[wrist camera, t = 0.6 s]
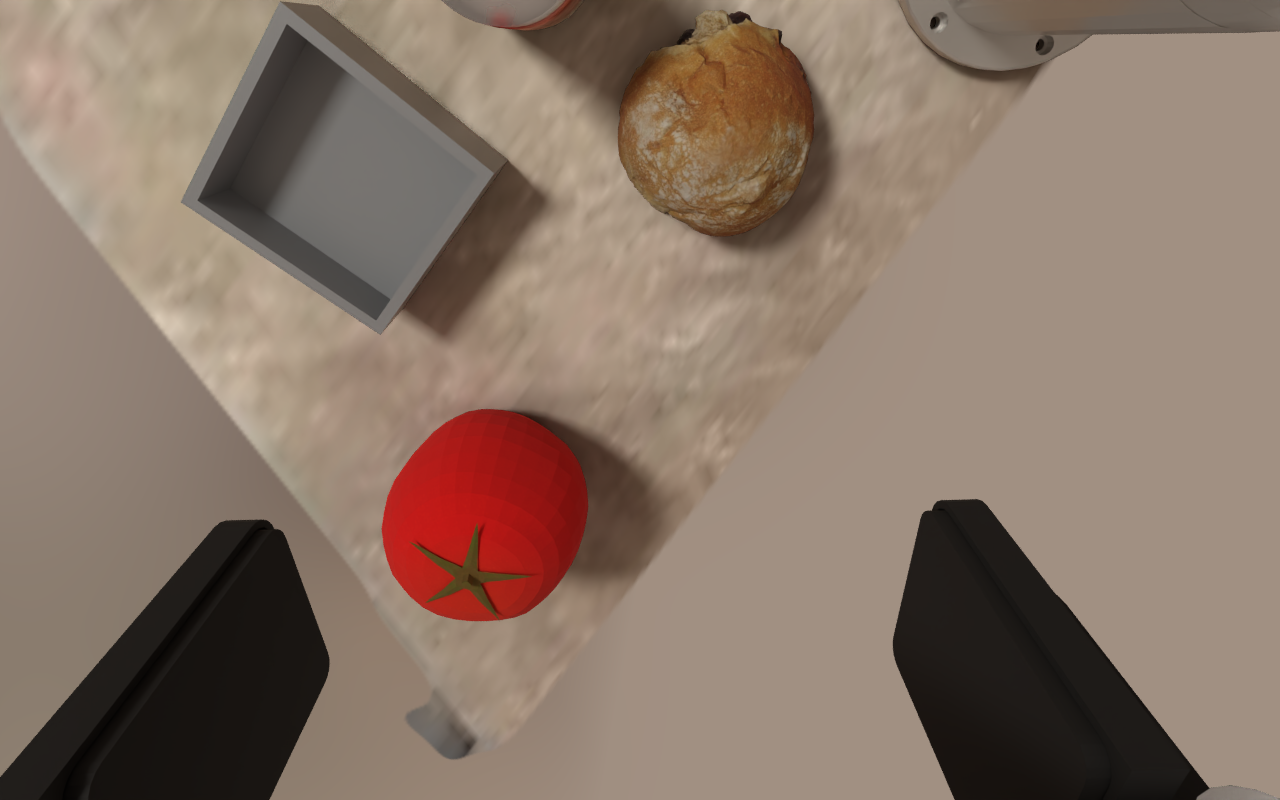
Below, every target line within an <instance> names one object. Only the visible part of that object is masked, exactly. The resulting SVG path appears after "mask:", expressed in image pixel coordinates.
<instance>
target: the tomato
mask: <svg viewBox="0 0 1280 800" xmlns="http://www.w3.org/2000/svg"><path fill="white" fill-rule="evenodd" d="M587 512H588V496H587V488H586V483H585V478H584V475H583V472H582V469H581V466H580V464H579V462H578V460H577V459H576V457H575V455H574V454H573V453H572V451H571V450H570V448H569V447H568V446H567V445H566V444H565V443H564V442H563V441H562V440H560V439H559V438H558V437H557V436H555V435H554V434H553V433H552V432H550V431H549V430H547V429H546V428H545V427H543V426H542V425H540V424H539V423H537V422H535V421H533V420H531V419H530V418H528V417H525V416H523V415H520V414H517V413H515V412H510V411H505V410H494V409H481V410H475V411H469V412H466V413H464V414H462V415H460V416H457V417H455V418H453V419H452V420H450V421H448V422H446V423H445V424H443V425H442V426H441V427H440V428H438V429H437V430H436V431H434V432H433V433H432V434H431V436H430V437H429V438H428V439H427V440H426V441H425V442H424V443H423V444H422V445H421V446H420V447H419V448H418V449H417V451H416V452H415V453H414V454H413V455H412V456H411V458H410V459H409V461H408V462H407V463H406V465H405V466H404V468H403V469H402V470H401V472H400V473H399V475H398V476H397V478H396V479H395V481H394V483H393V485H392V488H391V490H390V492H389V495H388V497H387V502H386V506H385V511H384V517H383V524H382V536H383V544H384V549H385V553H386V557H387V560H388V563H389V566H390V569H391V571H392V574H393V576H394V577H395V578H396V580H397V581H398V582H399V584H400V585H401V586H402V588H403V589H404V590H405V591H406V592H407V593H408V595H409V596H410V597H411V598H412V599H414V600H415V601H416V602H417V603H418V604H420V605H421V606H422V607H423V608H425V609H427V610H429V611H431V612H433V613H435V614H437V615H440V616H444V617H448V618H451V619H456V620H466V621H493V620H503V619H509V618H514V617H517V616H520V615H522V614H525V613H527V612H528V611H530V610H531V609H532V608H534V607H535V606H537V605H538V604H539V603H540V602H541V601H543V600H544V599H545V598H546V597H547V596H548V595H549V594H550V593H551V592H552V591H553V590H554V589H555V587H556V586H557V585H558V583H559V582H560V581H561V579H562V578H563V577H564V575H565V573H566V572H567V570H568V569H569V567H570V566H571V564H572V562H573V560H574V558H575V556H576V554H577V552H578V549H579V546H580V543H581V540H582V537H583V533H584V529H585V524H586V519H587Z"/></svg>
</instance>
